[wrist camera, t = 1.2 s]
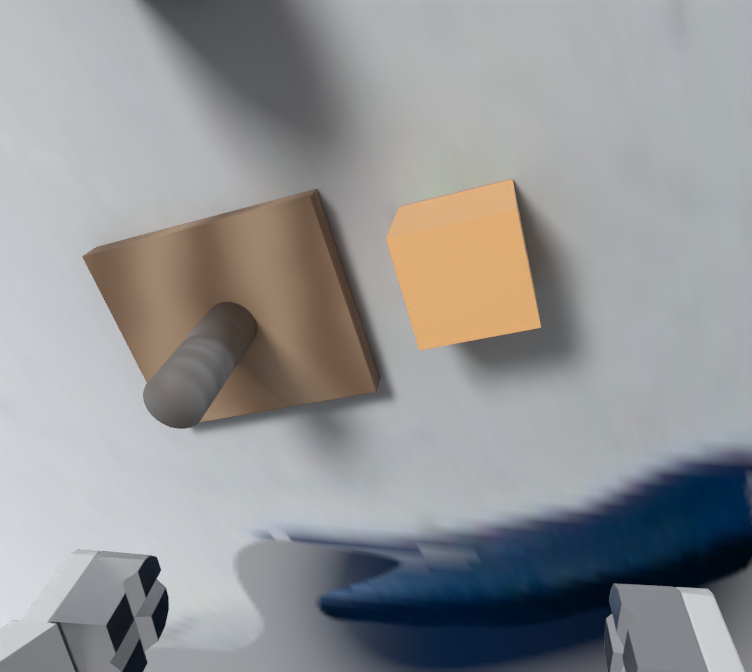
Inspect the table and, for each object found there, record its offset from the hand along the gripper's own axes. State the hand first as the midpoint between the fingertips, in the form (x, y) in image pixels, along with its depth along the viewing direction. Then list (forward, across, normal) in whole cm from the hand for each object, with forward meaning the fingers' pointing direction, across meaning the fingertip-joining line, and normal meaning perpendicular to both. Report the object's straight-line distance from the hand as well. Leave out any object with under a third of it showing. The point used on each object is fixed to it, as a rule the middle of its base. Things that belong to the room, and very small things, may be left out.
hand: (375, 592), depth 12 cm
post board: (+26, +12, +7) cm, 29 cm away
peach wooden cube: (+25, -2, +2) cm, 25 cm away
